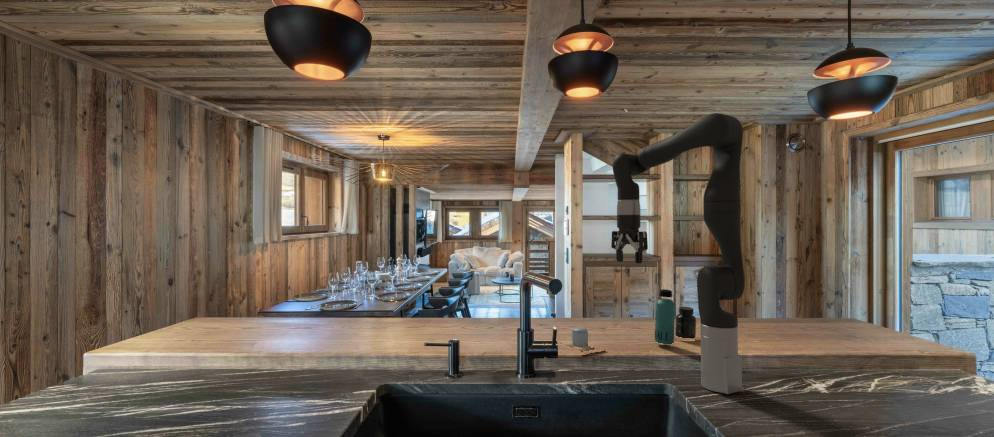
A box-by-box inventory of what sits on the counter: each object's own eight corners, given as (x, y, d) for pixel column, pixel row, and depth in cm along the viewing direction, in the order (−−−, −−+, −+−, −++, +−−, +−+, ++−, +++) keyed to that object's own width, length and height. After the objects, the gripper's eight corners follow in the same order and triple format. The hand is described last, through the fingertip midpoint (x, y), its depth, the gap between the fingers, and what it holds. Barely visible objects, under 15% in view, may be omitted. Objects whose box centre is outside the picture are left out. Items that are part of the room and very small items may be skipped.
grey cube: (578, 341, 156) (577, 326, 156) (590, 344, 153) (590, 329, 153) (569, 344, 153) (569, 329, 153) (581, 347, 149) (581, 331, 149)
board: (605, 351, 149) (605, 336, 149) (581, 356, 144) (581, 340, 144) (582, 343, 159) (582, 329, 159) (560, 347, 155) (559, 332, 155)
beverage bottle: (671, 343, 157) (672, 288, 156) (676, 350, 151) (678, 292, 149) (652, 342, 158) (653, 287, 157) (656, 349, 151) (658, 291, 150)
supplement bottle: (671, 338, 164) (672, 306, 163) (686, 336, 166) (687, 305, 166) (683, 344, 158) (685, 311, 157) (699, 342, 160) (700, 309, 159)
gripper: (653, 213, 143) (653, 263, 143) (621, 214, 156) (622, 260, 155) (636, 213, 139) (636, 264, 139) (605, 214, 152) (605, 261, 152)
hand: (628, 262), depth 147 cm, fingers open, 8 cm apart
